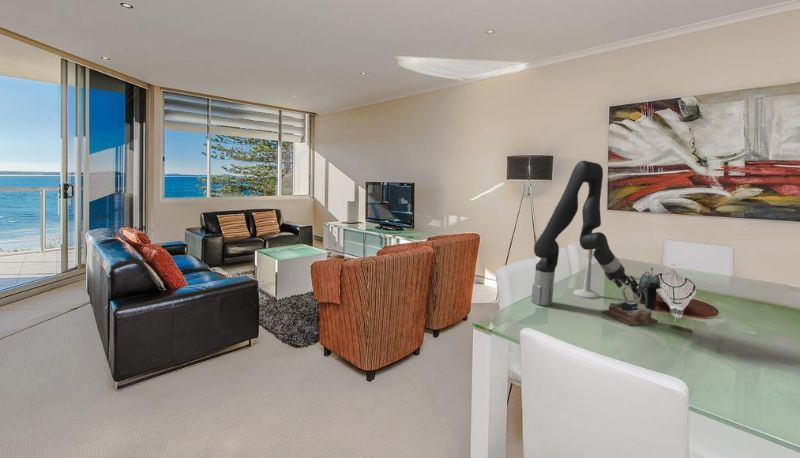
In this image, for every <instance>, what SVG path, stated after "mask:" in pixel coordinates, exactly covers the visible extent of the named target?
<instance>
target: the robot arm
mask: <svg viewBox="0 0 800 458" xmlns="http://www.w3.org/2000/svg"><path fill="white" fill-rule="evenodd" d="M603 176H604V171H603V167H602V165H601V164H599V163H598V162H593V161H589V160H588V161H587V160H580V161H579V162H577V163H576V165H575V166H574V168H573V170H572V172H571V174H570V177H569V179H568V182H567V185H566V187H565V190H564V191H563V193H562V196H561V197H560V198H559V201H558V203H557V205H556V206H555V209H554V211H553V213H552V215H551V217H550V218H549V219H548V222H547V224H546V226H545V228H544V230H543V231H542V233H540V236H539V238H537V240H536V242H535V244H534V247H533V251H534V252H533V253H534V255H535V256H536V257H537V258H539V259H540V260H539V261H538V262H537V263H536V264H535V273H534V283H533V284H532V289H531V290H532V291H531V302H532V303H533V302H534V303H533V304H536V305H537V306H542V307H543V306H546V307H548V306H552V305H553V299H554V298H553V296H554V288H555V286H554V285H555V274H556V273H555V272H556V268H557V266H558V263H559V253H560V251H559V250H560V247H559V243H558V242H557V238H558V237H559V235H560V234H561V233H562V232H564V231H565V229H566V228H568V226H570V225H571V223H572V221H573V219H574V218H575V216H576V214H577V213H578V210H579V192H580V189H581V187H582V186H583V183H587V185H588V194H587V197H586V199H585V201H584V203H583V207H582V227H581V231H580V235H579V244H580V247H581V248H582V249H583V250H586V251H587V250H588V251H589V250H590V249H593V251H592V254H593V257H594V259H595V260H596V261H597V262H598V264H599V266H600V268H601V269H602V271H604V274H605V276H606V277H607V279H608V280H609V281H611V282H612V283H614V284H615V285H616V286H617V287H618V288H619V289H620V288H621V287H622V286H623V285H624V286H625V287H628V286H629V287H630V289H631V292H632V291H633V292H634V293H637V292H638V286H639V282H637V281H636V279H635V278H634V277H633V276H632V275H630V276H628V275H627V274H626V273H625V272H626V270H625V267H624V265H623V264H622V263H621V262H620V260H619V259H618V258H617V256H616V255H615V254H614V253H613V252H612V250H611V249H610V246H609V242H608V239H607V236H606V235H605V234H604V233H603V232H599V231H597V232H593V230H596V229H597V228H599V227H601V225H602V219H601V194H602V188H603V178H604V177H603ZM629 287H628V288H629Z"/></svg>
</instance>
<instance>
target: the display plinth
mask: <svg viewBox="0 0 800 458" xmlns="http://www.w3.org/2000/svg"><path fill="white" fill-rule="evenodd" d="M623 302H624V301H621V302H619V301H618V302H610V303H609V305H608V309H606V310H605V309H604V310H601V313H600V314H603V315H605V316H607V317H609V318H612V319H613V320H616V321H618V322H620V323H623V324H625V325H627V326H629V327H633V326H634V327H635V326H642V325H651V324H658V323H659V319H656V318H653V317H652V310H651V309H647V308H644V309H642V308H640V307H637V310H633V311H626V310H622V303H623Z"/></svg>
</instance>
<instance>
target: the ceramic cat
mask: <svg viewBox="0 0 800 458" xmlns="http://www.w3.org/2000/svg"><path fill="white" fill-rule="evenodd" d="M650 270H651V274H650V272H649V271H645V273H643V274H642V275H641V277H640V279H639V282H638V284H639V285H638V286H637V288H638V289H639V290H640V292H641V295H642V297H641V299H640V300H645V301H644V303H645V304H644V307H646V308H645V309H651V311H656V305H657V290H659V289H661V278H660V277H659V274H657V273H656V274H654V275H653V272H654V271H653V270H654V268H653V267H651V268H650ZM647 273H648V274H647Z"/></svg>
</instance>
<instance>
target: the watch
mask: <svg viewBox="0 0 800 458" xmlns="http://www.w3.org/2000/svg"><path fill="white" fill-rule="evenodd" d="M627 288H630V287H629V286H625V287H624V288H622V289H621V297H622V300H623V301H622V302H623V303H622V310H626V311H633V310H637V308H639V306H638V305H639V302H640V299H641V297H642V295H641V292H640V290H639V289H638V292H637V293H634V292H633V291H632V290H631V292H632V296H633V297H634V298H635V300H636V301H635V302H634V301H630V300H628V297H627V295H626V292H625V290H626V289H627ZM630 289H631V288H630Z"/></svg>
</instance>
